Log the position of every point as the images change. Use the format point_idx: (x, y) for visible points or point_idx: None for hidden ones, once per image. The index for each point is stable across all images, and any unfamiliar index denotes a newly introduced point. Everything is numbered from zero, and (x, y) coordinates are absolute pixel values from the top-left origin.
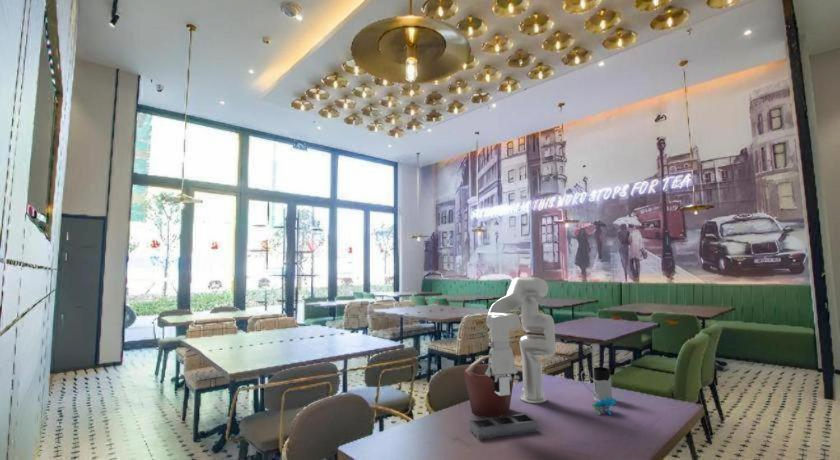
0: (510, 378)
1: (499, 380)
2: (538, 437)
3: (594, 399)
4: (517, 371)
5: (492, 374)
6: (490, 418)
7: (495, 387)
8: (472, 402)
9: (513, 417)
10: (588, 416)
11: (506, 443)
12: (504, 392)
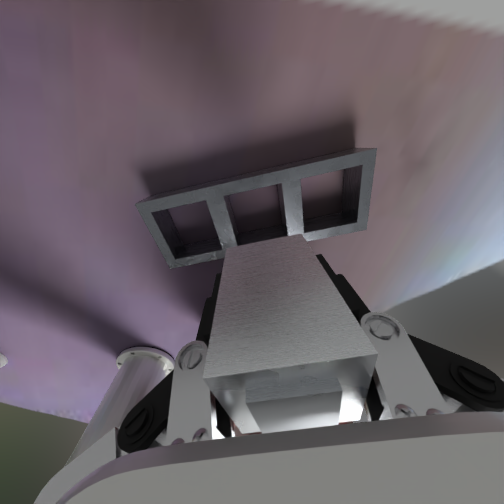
0: (189, 367)
1: (354, 319)
2: (154, 145)
3: (5, 358)
4: (43, 494)
5: (236, 432)
6: None
7: (343, 282)
8: None
9: (215, 249)
10: (2, 281)
11: (276, 102)
12: (268, 250)
